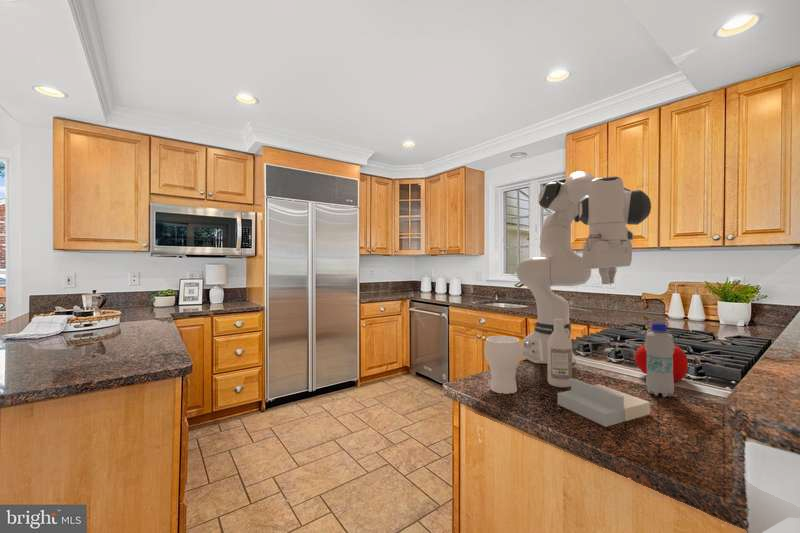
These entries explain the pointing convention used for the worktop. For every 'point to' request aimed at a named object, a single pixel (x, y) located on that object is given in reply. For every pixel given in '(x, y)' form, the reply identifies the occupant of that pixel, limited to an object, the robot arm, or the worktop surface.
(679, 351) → the tomato
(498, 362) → the cup
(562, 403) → the stepped block
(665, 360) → the bottle
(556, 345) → the bath foam
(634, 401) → the cream slotted block
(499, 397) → the worktop surface
